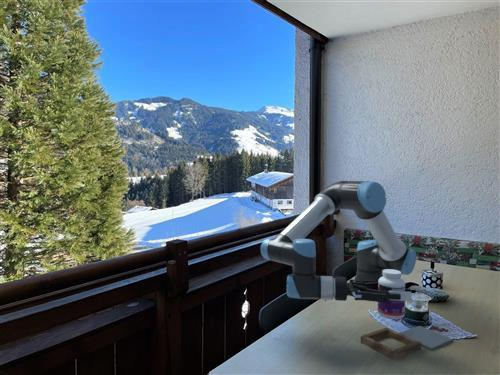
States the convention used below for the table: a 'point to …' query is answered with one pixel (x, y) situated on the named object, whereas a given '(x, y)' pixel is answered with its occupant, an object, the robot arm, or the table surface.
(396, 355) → the walnut frame
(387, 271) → the pill bottle
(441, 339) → the slate coaster
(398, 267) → the robot arm
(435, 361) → the table surface
